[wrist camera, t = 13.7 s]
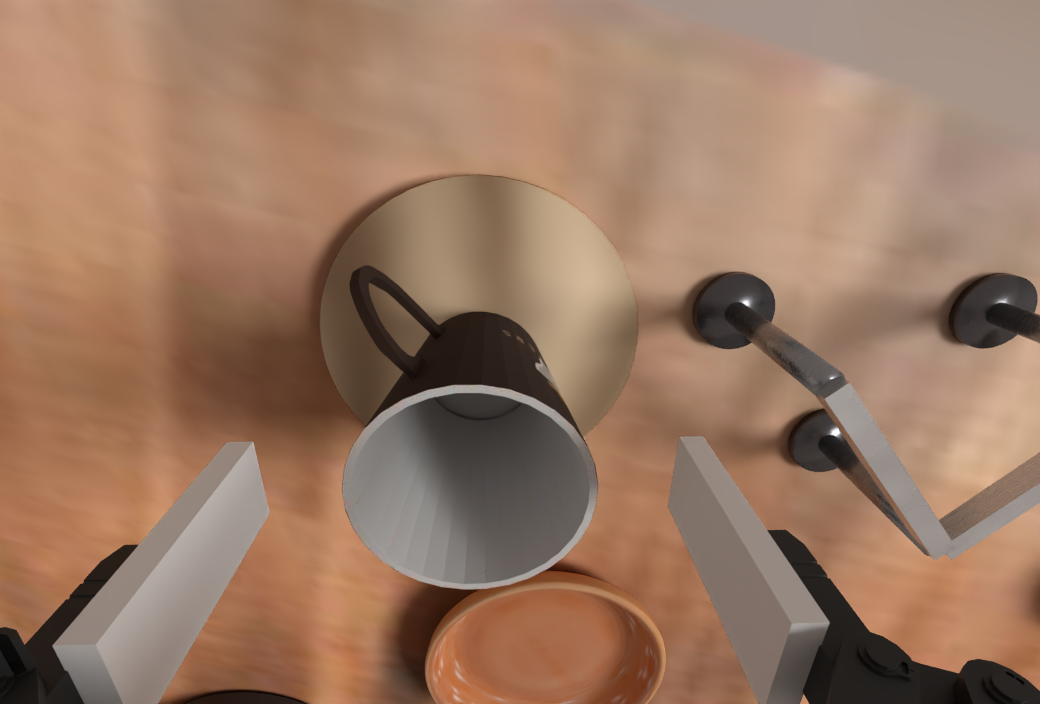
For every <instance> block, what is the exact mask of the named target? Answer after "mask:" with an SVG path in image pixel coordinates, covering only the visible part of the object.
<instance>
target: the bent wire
mask: <svg viewBox="0 0 1040 704" xmlns="http://www.w3.org/2000/svg"><path fill="white" fill-rule="evenodd" d="M1036 306H1037V292H1036V289H1035V287H1034V285H1033V284H1032V283H1031V282H1030V281H1028V280H1027V279H1025V278H1022V277H1019V276H1015V275H1012V274H1007V273H997V274H992V275H988V276H986V277H983V278H981V279H979V280H977V281H976V282H974V283H973V284H971V285H970V286H969V287H968V288H967V289H965V290H964V291H963V293H962V294H961V295H960V296H959V297H958V299H957V300H956V302H955V304H954V305H953V308H952V310H951V313H950V318H949V325H950V329H951V332H952V334H953V335H954V336H955V338H957V339H958V340H959V341H961V342H963V343H965V344H968V345H970V346H972V347H975V348H991V347H995V346H999V345H1001V344H1003V343H1005V342H1007V341H1009V340H1011V339H1012V338H1014V337H1015V336H1016V335H1020V336H1023V337H1025V338H1028V339H1031V340H1033V341H1036V342H1038V343H1040V315H1039V314H1036V313H1034V312H1035V310H1036ZM774 311H775V299H774V295H773V293H772V290H771V289H770V287H769V286H768V285H767V284H766V283H765V282H764V281H762V280H761V279H759V278H757V277H755V276H754V275H751V274H749V273H745V272H731V273H727V274H724V275H721V276H719V277H717V278H715V279H714V280H712V281H711V282H710V283H708V284H707V285H706V286H705V287H704V288H703V290H702V291H701V292H700V294H699V295H698V297H697V299H696V302H695V305H694V309H693V320H694V325H695V327H696V329H697V331H698V332H699V334H700V335H701V336H702V337H703V338H704V339H705V340H706V341H707V342H708V343H710V344H711V345H713V346H715V347H718V348H722V349H735V348H740V347H743V346H746V345H748V344H750V343H753V344H754V345H756V346H757V347H758V348H759V349H760V350H762V351H763V352H764V353H765V354H766V355H768V356H769V357H770V358H771V359H772V360H774V361H775V362H776V363H777V364H778V365H780V366H781V367H782V368H783V369H784V370H786V371H787V372H788V373H789V374H790V375H792V376H793V377H794V378H795V379H796V380H798V381H799V382H800V383H801V384H802V385H804V386H805V387H806V388H807V389H808V390H810V391H811V392H812V393H813V394H814V395H815V396H816V397H817V399H818V400H819V401H820V403H821V404H822V406H823V407H824V409H822V410H819V411H816V412H813V413H811V414H810V415H808V416H806V417H805V418H804V419H802V420H801V421H800V422H799V423H798V424H797V425H796V426H795V428H794V429H793V431H792V433H791V435H790V438H789V451H790V454H791V455H792V457H793V458H794V459H795V460H796V461H797V463H798V464H799V465H800V466H802V467H803V468H805V469H807V470H809V471H814V472H825V471H830V470H833V469H836V468H838V469H839V470H840V471H841V472H842V473H843V474H844V475H845V476H846V477H847V478H848V479H849V480H850V481H851V482H852V483H853V484H854V485H855V486H856V487H857V488H858V489H859V490H860V491H861V492H862V493H863V494H864V495H865V496H866V497H867V498H868V499H869V500H870V501H872V502H873V503H874V504H875V505H876V506H877V507H878V508H879V509H880V510H881V511H882V512H883V513H884V514H885V515H886V516H887V517H888V518H889V519H890V520H891V521H892V522H893V523H894V524H895V525H896V526H897V527H898V528H899V529H900V530H901V531H902V532H903V533H904V534H905V535H906V536H907V537H908V538H909V539H910V540H911V541H912V542H913V543H914V544H915V545H916V546H917V547H918V548H919V549H920V550H921V551H922V552H923V553H924V554H925V555H927V556H931V557H932V558H933V559H934V560H935V559H937V558H939V557H941V556H943V555H945V554H946V555H947V556H948V557H949V558H950V559H951V560H952V559H953V558H955V557H956V556H958V555H960V554H961V553H963V552H964V551H966V550H967V549H969V548H970V547H972V546H974V545H975V544H977V543H978V542H980V541H981V540H983V539H984V538H986V537H988V536H989V535H991V534H992V533H994V532H995V531H997V530H998V529H1000V528H1001V527H1003V526H1005V525H1006V524H1008V523H1009V522H1011V521H1012V520H1014V519H1015V518H1017V517H1019V516H1020V515H1022V514H1023V513H1025V512H1026V511H1028V510H1029V509H1031V508H1033V507H1034V506H1036V505H1037V504H1039V503H1040V452H1039V453H1038V454H1037V455H1035V456H1034V457H1032V458H1031V459H1029V460H1028V461H1026V462H1025V463H1023V464H1022V465H1020V466H1019V467H1017V468H1016V469H1014V470H1013V471H1011V472H1010V473H1008V474H1007V475H1005V476H1004V477H1002V478H1001V479H999V480H998V481H996V482H995V483H993V484H992V485H990V486H989V487H987V488H986V489H984V490H983V491H982V492H980V493H979V494H977V495H976V496H974V497H973V498H971V499H970V500H968V501H967V502H965V503H964V504H962V505H961V506H959V507H958V508H956V509H955V510H953V511H952V512H950V513H949V514H947V515H946V516H944V517H943V518H941V519H940V520H938V519H937V517H936V516H935V514H934V513H933V511H932V509H931V508H930V506H929V505H928V503H927V502H926V500H925V499H924V497H923V496H922V494H921V492H920V491H919V489H918V488H917V486H916V485H915V483H914V482H913V480H912V478H911V477H910V475H909V474H908V472H907V471H906V469H905V468H904V466H903V465H902V463H901V461H900V460H899V458H898V457H897V455H896V454H895V452H894V451H893V449H892V447H891V446H890V444H889V443H888V441H887V440H886V438H885V437H884V435H883V434H882V432H881V430H880V429H879V427H878V426H877V424H876V423H875V421H874V420H873V418H872V416H871V415H870V413H869V412H868V410H867V409H866V407H865V406H864V404H863V403H862V401H861V399H860V398H859V396H858V395H857V393H856V392H855V390H854V389H853V387H852V385H851V384H850V383H849V382H848V381H847V380H845V377H844V375H843V373H842V372H840V371H839V370H837V369H836V368H835V367H833V366H832V365H830V364H829V363H827V362H826V361H825V360H823V359H822V358H820V357H819V356H818V355H816V354H815V353H813V352H812V351H810V350H809V349H808V348H806V347H805V346H803V345H802V344H801V343H799V342H798V341H796V340H795V339H793V338H792V337H791V336H789V335H788V334H786V333H785V332H783V331H782V330H781V329H779V328H778V327H776V326H775V325H774V324H772V323H771V321H772V319H773V316H774Z"/></svg>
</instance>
